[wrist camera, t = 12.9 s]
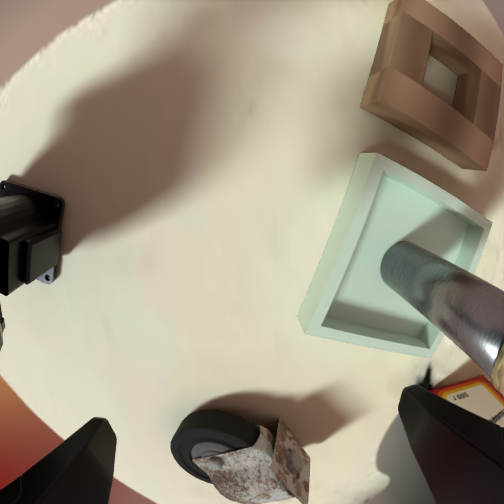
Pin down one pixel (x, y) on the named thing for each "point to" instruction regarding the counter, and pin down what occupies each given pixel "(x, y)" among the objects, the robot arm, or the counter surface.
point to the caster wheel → (242, 458)
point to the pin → (451, 303)
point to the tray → (373, 249)
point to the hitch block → (425, 102)
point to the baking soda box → (476, 398)
